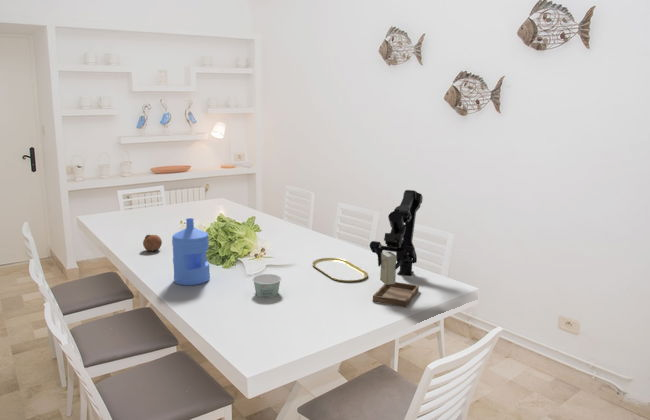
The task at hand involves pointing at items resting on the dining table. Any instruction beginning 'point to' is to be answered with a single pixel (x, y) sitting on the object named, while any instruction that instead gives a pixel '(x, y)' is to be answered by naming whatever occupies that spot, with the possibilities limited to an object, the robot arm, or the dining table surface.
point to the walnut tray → (396, 294)
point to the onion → (152, 242)
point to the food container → (266, 285)
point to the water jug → (190, 255)
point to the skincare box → (388, 268)
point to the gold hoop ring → (342, 262)
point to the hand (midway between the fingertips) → (387, 267)
